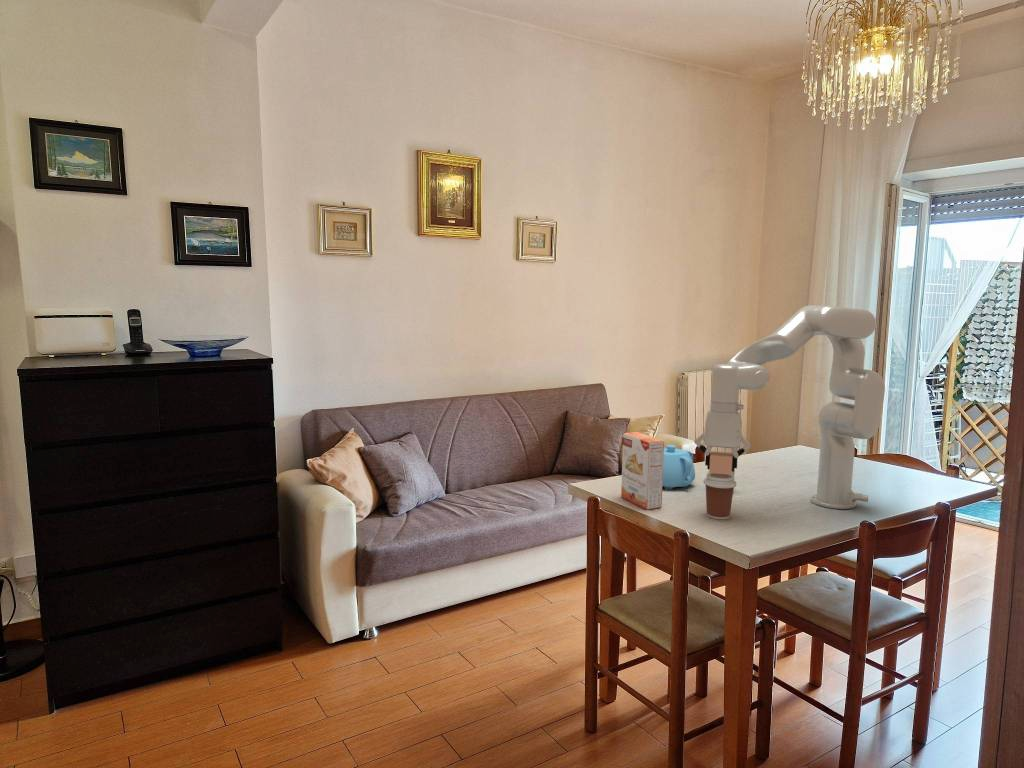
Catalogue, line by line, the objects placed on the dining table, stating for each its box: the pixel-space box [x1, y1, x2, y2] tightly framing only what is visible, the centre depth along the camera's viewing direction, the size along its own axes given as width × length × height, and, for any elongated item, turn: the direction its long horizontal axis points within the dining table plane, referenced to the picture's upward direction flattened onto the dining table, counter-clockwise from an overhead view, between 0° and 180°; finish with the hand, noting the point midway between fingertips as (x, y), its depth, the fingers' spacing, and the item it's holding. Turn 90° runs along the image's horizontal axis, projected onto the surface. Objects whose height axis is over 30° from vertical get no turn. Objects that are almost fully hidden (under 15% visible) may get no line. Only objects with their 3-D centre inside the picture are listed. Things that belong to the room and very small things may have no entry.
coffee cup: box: [703, 473, 737, 520], centre depth 191 cm, size 9×9×12 cm
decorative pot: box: [662, 444, 696, 490], centre depth 223 cm, size 16×16×14 cm
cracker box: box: [620, 431, 665, 511], centre depth 202 cm, size 14×6×21 cm, turn 23°
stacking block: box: [708, 450, 733, 475], centre depth 190 cm, size 6×6×5 cm
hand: (720, 468), depth 190 cm, fingers closed on stacking block, 6 cm apart
